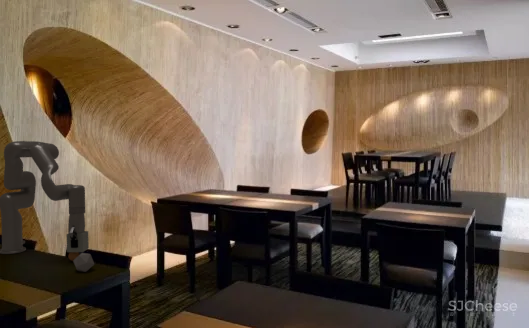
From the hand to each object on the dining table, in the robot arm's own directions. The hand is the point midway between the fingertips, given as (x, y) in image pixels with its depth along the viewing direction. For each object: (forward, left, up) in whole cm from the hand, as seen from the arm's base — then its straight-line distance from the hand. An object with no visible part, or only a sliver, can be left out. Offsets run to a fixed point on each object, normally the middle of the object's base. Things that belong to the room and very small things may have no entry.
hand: (77, 245), depth 218 cm
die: (+16, +9, -8) cm, 20 cm away
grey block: (0, 0, -2) cm, 2 cm away
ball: (0, -2, -5) cm, 6 cm away
